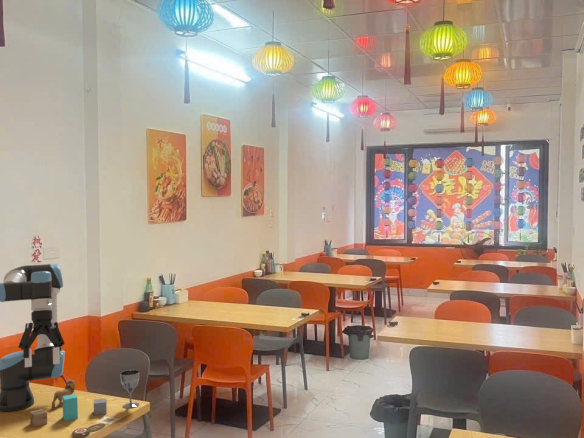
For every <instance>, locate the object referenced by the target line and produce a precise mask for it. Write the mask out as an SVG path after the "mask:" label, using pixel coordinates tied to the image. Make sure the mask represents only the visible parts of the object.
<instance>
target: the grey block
mask: <svg viewBox="0 0 584 438" xmlns="http://www.w3.org/2000/svg"><path fill="white" fill-rule="evenodd" d="M107 405H108V404H107V398H106V397H105V398H99V399H96V398H95V399H94V400H93V415H94V416H99V415H106V414H107V411H108V409H107V408H108V407H107Z"/></svg>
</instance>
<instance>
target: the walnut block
mask: <svg viewBox="0 0 584 438" xmlns="http://www.w3.org/2000/svg"><path fill="white" fill-rule="evenodd" d="M29 414H30V415H29V416H30V417H29V418H30V419H29V420H30V425H31V426H32V427H34V428H38V427H41V426H44V425H48V411H46V409H44V408H40V409H35V410H32V411H31V410H30V412H29Z"/></svg>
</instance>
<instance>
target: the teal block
mask: <svg viewBox="0 0 584 438" xmlns="http://www.w3.org/2000/svg"><path fill="white" fill-rule="evenodd" d="M62 404H63V406H62V418H63V420H64V422H68V421H73V420H78V419H79V415H78V414H79V413H78V411H79V407H78V397H77V394H75V393H72V394H71V395H66V396H62Z"/></svg>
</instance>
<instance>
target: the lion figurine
mask: <svg viewBox="0 0 584 438" xmlns="http://www.w3.org/2000/svg"><path fill="white" fill-rule="evenodd" d="M75 388H76V383H75V381H74V380H73V379H68V380H67V381H66V382H65V387H64V389H62V390H57V391H56V392H55V393H54V395H53V399H52V402H51V408H53V409H55V408H56V406H55V405H56V401H57V400H58V401H59V403H58V404H59V405H60V407H63V400H62V396H66V395H71V394H74V392H75Z"/></svg>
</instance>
